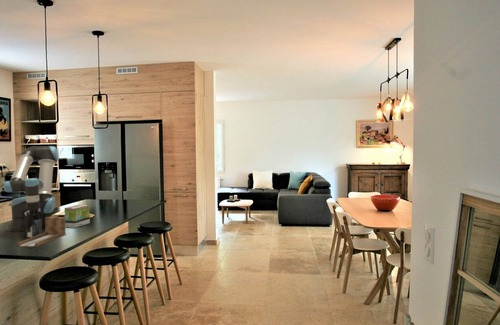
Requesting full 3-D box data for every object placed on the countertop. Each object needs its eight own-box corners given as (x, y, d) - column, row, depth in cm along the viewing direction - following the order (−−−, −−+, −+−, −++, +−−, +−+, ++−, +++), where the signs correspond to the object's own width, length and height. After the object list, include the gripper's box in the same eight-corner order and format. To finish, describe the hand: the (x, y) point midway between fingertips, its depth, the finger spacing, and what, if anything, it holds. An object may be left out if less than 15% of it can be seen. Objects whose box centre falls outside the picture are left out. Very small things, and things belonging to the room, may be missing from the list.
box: (25, 237, 212) (25, 221, 212) (29, 234, 218) (29, 219, 217) (38, 236, 214) (38, 220, 213) (42, 234, 219) (41, 218, 219)
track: (17, 246, 193) (16, 226, 193) (47, 234, 219) (46, 216, 218) (37, 246, 192) (36, 226, 192) (65, 234, 218) (64, 217, 217)
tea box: (76, 228, 235) (75, 208, 234) (64, 227, 237) (63, 207, 236) (90, 223, 250) (89, 204, 249) (79, 222, 252) (78, 204, 251)
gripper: (26, 204, 204) (28, 239, 206) (48, 199, 224) (49, 231, 225) (15, 204, 205) (17, 239, 206) (38, 198, 224) (39, 231, 226)
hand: (34, 235), depth 216 cm, fingers closed on box, 7 cm apart
